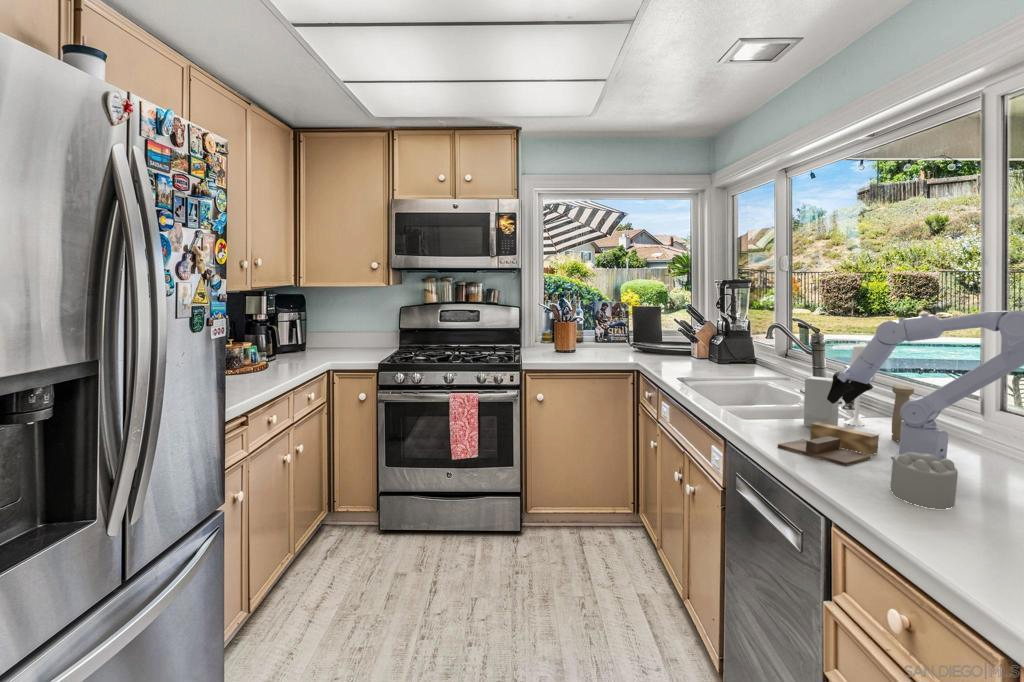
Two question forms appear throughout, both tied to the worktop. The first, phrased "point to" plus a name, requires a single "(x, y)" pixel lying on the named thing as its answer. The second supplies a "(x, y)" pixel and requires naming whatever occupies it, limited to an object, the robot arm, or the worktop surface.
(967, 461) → the worktop surface
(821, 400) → the skincare box
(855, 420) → the champagne flute
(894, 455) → the robot arm
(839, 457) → the walnut board
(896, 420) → the handle
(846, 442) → the oak bar
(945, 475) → the lumpy-topped squat cylinder
